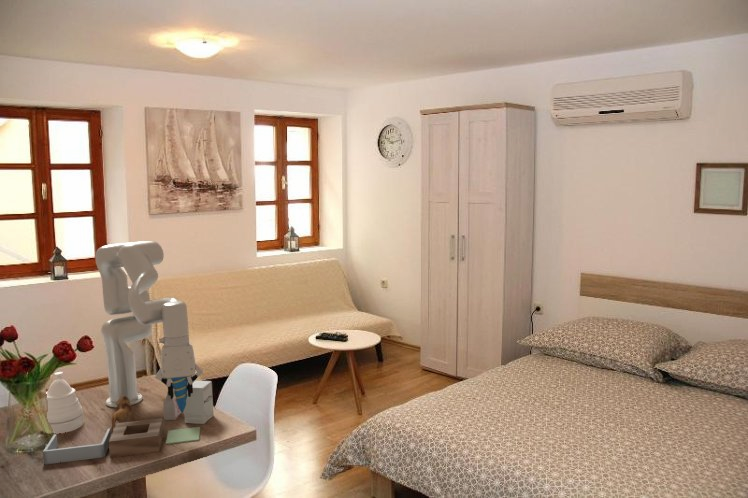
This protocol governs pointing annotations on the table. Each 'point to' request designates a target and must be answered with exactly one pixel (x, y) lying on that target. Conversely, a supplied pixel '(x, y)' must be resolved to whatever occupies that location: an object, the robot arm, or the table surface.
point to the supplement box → (199, 403)
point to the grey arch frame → (75, 451)
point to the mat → (183, 435)
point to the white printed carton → (171, 408)
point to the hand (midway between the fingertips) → (180, 395)
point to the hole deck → (136, 437)
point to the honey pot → (63, 406)
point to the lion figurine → (121, 411)
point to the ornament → (180, 391)
